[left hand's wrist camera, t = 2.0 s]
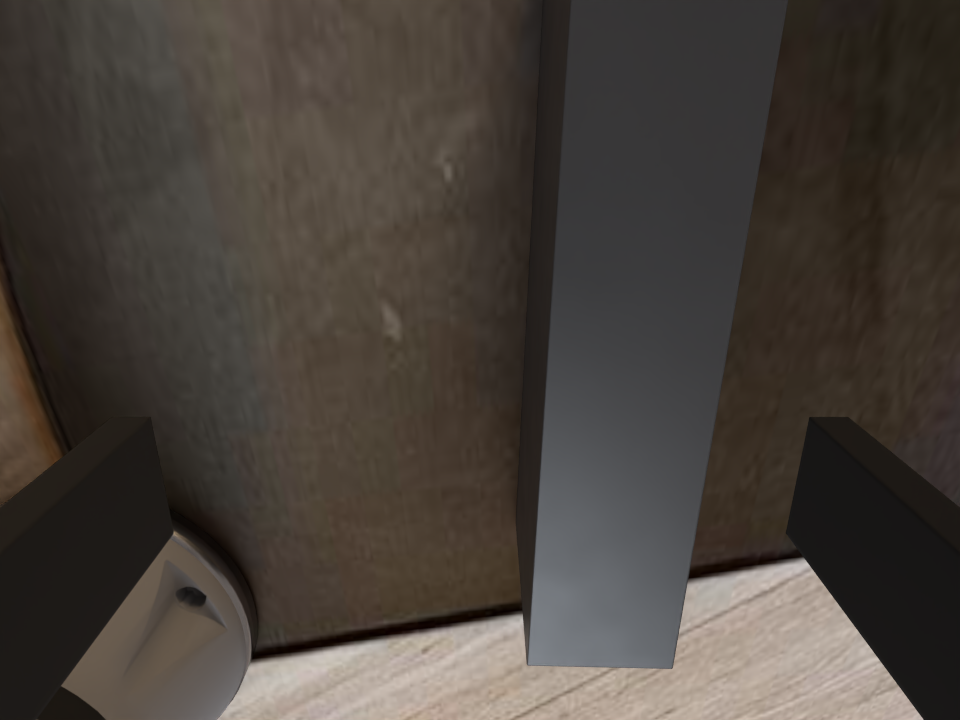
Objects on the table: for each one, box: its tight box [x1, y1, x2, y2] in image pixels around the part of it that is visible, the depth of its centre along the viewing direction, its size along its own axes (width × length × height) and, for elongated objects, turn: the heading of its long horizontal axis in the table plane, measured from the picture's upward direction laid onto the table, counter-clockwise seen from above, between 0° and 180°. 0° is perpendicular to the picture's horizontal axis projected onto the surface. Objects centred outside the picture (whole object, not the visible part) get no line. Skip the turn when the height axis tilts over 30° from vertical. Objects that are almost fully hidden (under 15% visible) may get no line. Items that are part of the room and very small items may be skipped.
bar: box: [516, 0, 788, 669], centre depth 23 cm, size 24×5×9 cm, turn 179°
